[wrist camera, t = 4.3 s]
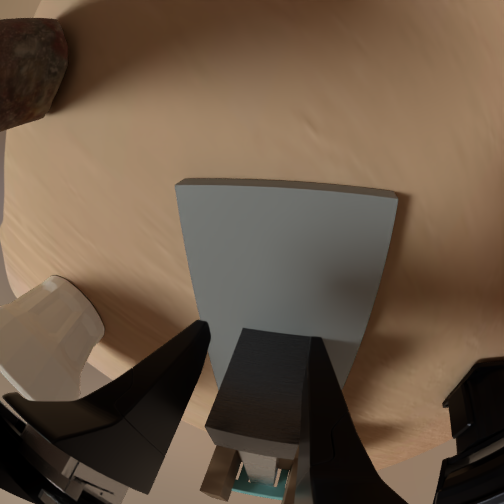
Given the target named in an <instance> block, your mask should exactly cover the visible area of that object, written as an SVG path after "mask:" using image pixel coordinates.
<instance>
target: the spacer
mask: <svg viewBox="0 0 504 504" xmlns="http://www.w3.org/2000/svg"><path fill="white" fill-rule="evenodd" d="M288 472H289V470H286V469H281V473H280V477H279V481H278V485H277V487H272V486H265V485H260V484H255V483H250V482H248V480H249V477H248V474H247V472H246V469H245V466H244V464H243V467H242V470H241V473H240V476H239V479H238V480H236V479H235V482H234V485H233V488H232V491H236V492H240V493H245V494H249V495H254V496H260V497H265V498H271V499H278V500H282V499H283V496H284V492H285V484H286V480H287V476H288Z"/></svg>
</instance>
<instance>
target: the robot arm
mask: <svg viewBox="0 0 504 504" xmlns="http://www.w3.org/2000/svg"><path fill="white" fill-rule="evenodd" d="M210 341H211V332H210V328H209V324H208V322H207V321H203V320H196V321H195V322H194V323H192V324H191V325H190V326H188V327H187V328H186V329H184V330H183V331H182V332H180V333H179V334H178V335H176V336H175V337H173V338H172V339H171V340H169V341H168V342H167V343H165V344H164V345H163V346H161V347H160V348H159V349H157V350H156V351H154V352H153V353H152V354H150V355H149V356H148V357H146V358H145V359H143V360H142V361H141V362H139V363H138V364H137V365H135V366H134V367H133V368H131V369H130V370H128V371H127V372H125V373H124V374H122V375H121V376H120V377H118V378H117V379H115V380H113V381H112V382H110V383H108V384H107V385H105V386H103V387H101V388H100V389H98V390H96V391H94V392H92V393H91V394H89V395H87V396H85V397H83V398H81V399H78V400H74V401H31V400H27V399H25V398H23V397H22V396H21V395H20V394H19V393H17V392H14V393H8V394H5V395H3V396H2V397H3V399H4V400H5V401H6V402H7V403H8V404H9V405H10V406H11V407H12V408H13V409H14V410H15V411H16V412H17V413H18V414H19V415H20V416H21V417H22V418H23V419H24V420H25V421H26V422H27V424H26V423H25V422H23V421H22V420H21V419H20V418H19V417H18V416H17V415H15V414H14V413H13V412H12V411H11V410H10V409H9V408H8V407H6V406H5V405H4V404H3V403H2V402H1V401H0V488H1V489H3V490H5V491H7V492H9V493H12V494H14V495H16V496H18V497H20V498H23V499H25V500H27V501H30V502H32V503H35V504H121V503H122V501H123V499H124V497H125V495H126V492H127V490H128V488H129V487H130V488H132V489H135V490H137V491H139V492H142V493H145V494H147V495H148V494H149V492H150V490H151V488H152V485H153V483H154V480H155V478H156V476H157V474H158V471H159V469H160V467H161V464H162V462H163V460H164V458H165V455H166V453H167V450H168V448H169V446H170V443H171V441H172V439H173V437H174V434H175V432H176V430H177V427H178V425H179V423H180V421H181V418H182V416H183V414H184V411H185V409H186V407H187V404H188V402H189V400H190V397H191V395H192V393H193V391H194V388H195V386H196V384H197V381H198V379H199V377H200V374H201V371H202V368H203V365H204V362H205V358H206V355H207V351H208V348H209V344H210ZM442 405H443V408H448V407H449V414H450V422H451V431H452V437H453V439H455V438H456V446H457V455H455V456H453V457H451V458H446V459H444V460H443V461H442V466H441V470H440V476H439V481H438V485H437V489H436V493H435V497H434V501H433V504H504V361H498V362H488V363H478V364H476V365H474V366H473V367H472V369H471V370H470V371H469V372H468V374H467V375H466V376H465V377H464V379H463V380H462V381H461V382H460V383H459V385H458V386H457V387H456V388H455V389H454V390H453V392H452V393H451V394H450V395H449V396H448V397H447V398H446V399H445V400H444V402H443V403H442ZM348 411H349V410H348V407H347V404H346V401H345V399H344V396H343V393H342V390H341V387H340V385H339V382H338V379H337V376H336V374H335V371H334V368H333V366H332V363H331V360H330V358H329V355H328V352H327V350H326V347H325V344H324V342H323V339H322V338H321V337H318V336H311V337H310V343H309V349H308V356H307V362H306V369H305V375H304V381H303V388H302V403H301V424H300V441H299V455H298V468H297V479H296V490H295V499H294V504H408V503H407V502H406V501H405V500H404V499H402V498H401V497H400V496H399V495H398V494H397V493H396V492H395V491H393V490H392V489H391V488H390V487H389V486H388V485H387V484H386V483H385V482H384V481H383V480H382V479H381V478H380V476H379V475H378V473H377V471H376V470H375V468H374V466H373V464H372V462H371V460H370V458H369V456H368V454H367V452H366V450H365V448H364V446H363V444H362V442H361V440H360V438H359V436H358V434H357V432H356V429H355V426H354V424H353V421H352V418H351V415H350V413H349V412H348Z"/></svg>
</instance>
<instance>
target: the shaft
mask: <svg viewBox="0 0 504 504" xmlns="http://www.w3.org/2000/svg"><path fill="white" fill-rule="evenodd" d="M310 337H311V336H301V335H293V334H284V333H277V332H269V331H262V330H255V329H248V328H243V329H242V331H241V334H240V337H239V339H238V342H237V344H236V347H235V350H234V352H233V355H232V358H231V360H230V363H229V365H228V368H227V371H226V373H225V376H224V378H223V381H222V383H221V386H220V389H219V391H218V394H217V396H216V399H215V401H214V404H213V406H212V409H211V411H210V414H209V416H208V419H207V421H206V424H205V428H206V430H207V432H208V433H209V435H210V437H211V439H212V441H213V442H214V444H215V445H218V446H222V447H226V448H230V449H234V450H239V453H240V456H241V458H242V461H243V464H244V466H245V469H246V472H247V474H248V477H249V480H250V482H251V483H255V484H260V485H265V486H272V487H274V484H275V480H276V476H277V470H278V465H279V458H283V459H290V460H294V457H295V454H296V451H297V448H298V445H299V440H300V424H301V403H302V388H303V381H304V375H305V369H306V362H307V356H308V349H309V343H310Z"/></svg>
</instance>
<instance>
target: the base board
mask: <svg viewBox="0 0 504 504" xmlns="http://www.w3.org/2000/svg"><path fill="white" fill-rule="evenodd" d="M175 190H176V197H177V203H178V210H179V216H180V222H181V228H182V233H183V239H184V244H185V250H186V255H187V260H188V265H189V270H190V275H191V280H192V285H193V289H194V294H195V299H196V303H197V308H198V312H199V316H200V320H203V321H207V322H208V324H209V328H210V332H211V341H210V344H209V348H208V353H209V357H210V361H211V364H212V368H213V372H214V375H215V379H216V383H217V386H218V390H219V389H220V386H221V383H222V381H223V378H224V376H225V373H226V371H227V368H228V365H229V363H230V360H231V358H232V355H233V352H234V350H235V347H236V344H237V342H238V339H239V337H240V334H241V331H242V329H243V328H248V329H255V330H262V331H269V332H277V333H284V334H293V335H301V336H318V337H321V338H322V339H323V342H324V344H325V347H326V350H327V352H328V355H329V358H330V360H331V363H332V366H333V368H334V371H335V374H336V376H337V379H338V382H339V385H340V387H341V390H342V389H343V386H344V384H345V382H346V379H347V377H348V375H349V372H350V370H351V367H352V365H353V362H354V360H355V357H356V354H357V352H358V349H359V346H360V344H361V341H362V338H363V335H364V332H365V329H366V326H367V323H368V320H369V317H370V314H371V311H372V308H373V305H374V301H375V298H376V295H377V291H378V288H379V284H380V281H381V277H382V273H383V269H384V265H385V261H386V257H387V253H388V249H389V244H390V240H391V235H392V231H393V226H394V221H395V215H396V210H397V204H398V198H397V196H396V195H395V193H394V191H388V190H381V189H373V188H364V187H355V186H345V185H335V184H323V183H311V182H296V181H279V180H256V179H183V180H182V181H180V182H179V183H177V184H176V185H175Z"/></svg>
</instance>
